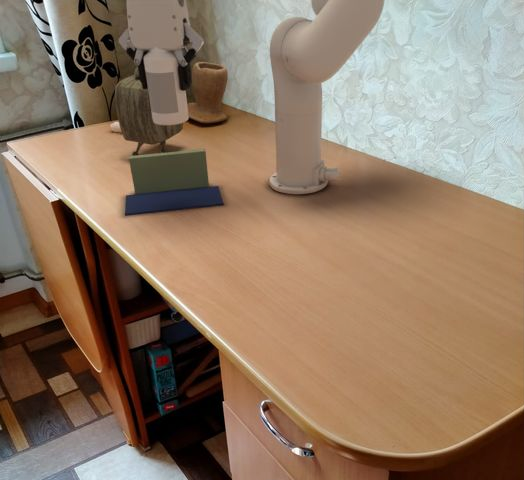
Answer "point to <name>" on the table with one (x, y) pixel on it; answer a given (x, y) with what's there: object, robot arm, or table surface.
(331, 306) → the table surface
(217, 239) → the table surface
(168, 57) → the white capped bottle
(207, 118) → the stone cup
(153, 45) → the robot arm
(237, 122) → the table surface
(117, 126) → the sitting furry creature
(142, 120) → the tabletop clock
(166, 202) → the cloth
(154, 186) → the backboard
